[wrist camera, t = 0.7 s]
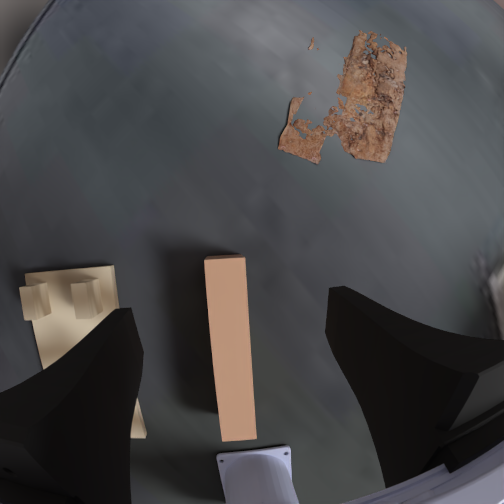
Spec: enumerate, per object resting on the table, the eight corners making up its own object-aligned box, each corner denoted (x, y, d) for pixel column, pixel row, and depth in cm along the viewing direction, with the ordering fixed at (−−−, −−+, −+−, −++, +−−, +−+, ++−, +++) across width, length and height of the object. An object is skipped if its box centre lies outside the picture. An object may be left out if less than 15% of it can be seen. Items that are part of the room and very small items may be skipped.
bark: (386, 190, 29) (388, 189, 29) (277, 151, 28) (278, 149, 28) (404, 39, 29) (406, 37, 29) (320, 2, 28) (321, -1, 28)
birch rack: (147, 433, 28) (139, 454, 24) (67, 427, 27) (54, 445, 23) (113, 265, 27) (98, 269, 23) (29, 272, 26) (8, 277, 22)
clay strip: (251, 411, 29) (256, 438, 24) (221, 413, 29) (222, 441, 24) (240, 254, 28) (245, 257, 23) (206, 256, 28) (204, 259, 23)
